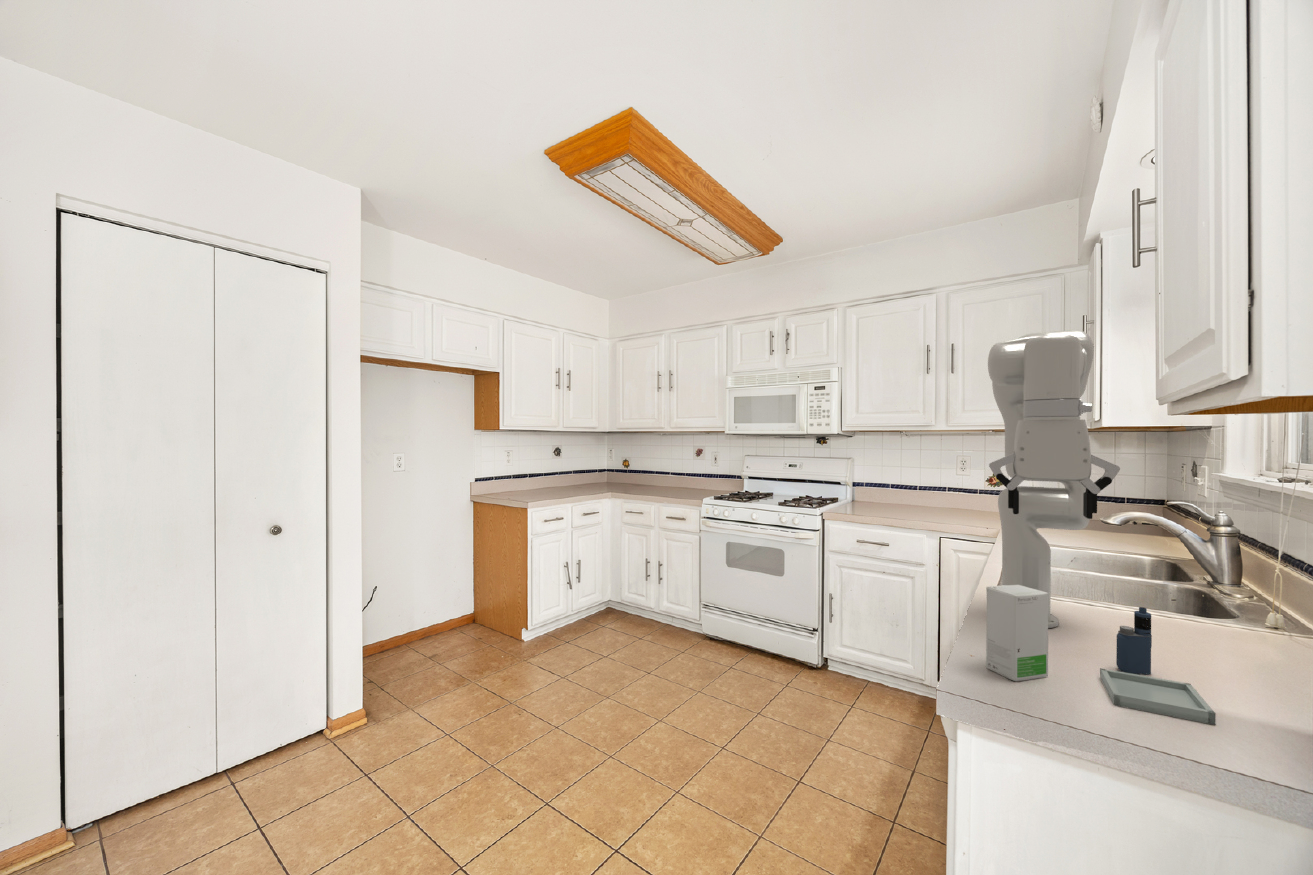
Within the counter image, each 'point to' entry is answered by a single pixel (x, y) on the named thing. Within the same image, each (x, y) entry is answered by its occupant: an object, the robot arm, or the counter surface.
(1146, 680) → the tray
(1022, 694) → the counter surface
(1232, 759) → the counter surface
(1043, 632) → the skincare box
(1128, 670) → the vaping device
